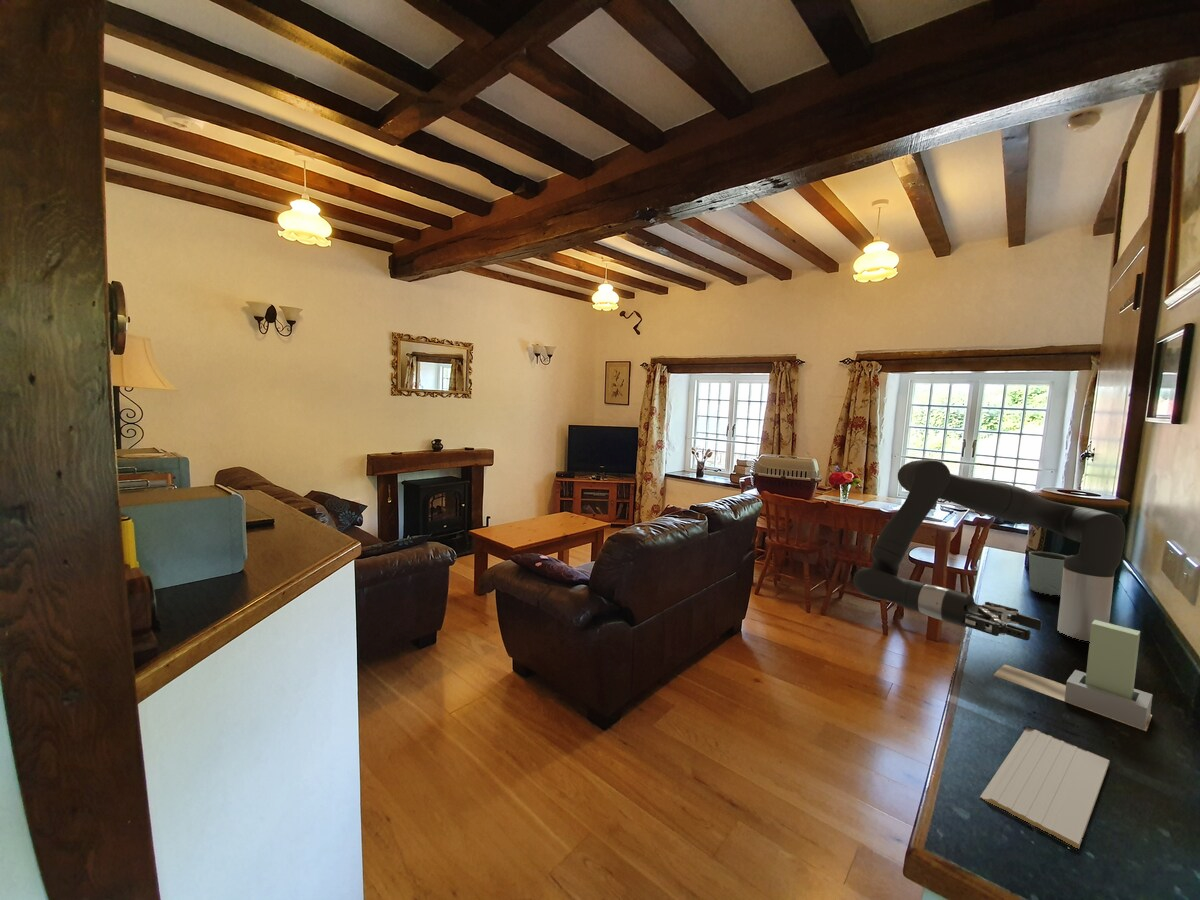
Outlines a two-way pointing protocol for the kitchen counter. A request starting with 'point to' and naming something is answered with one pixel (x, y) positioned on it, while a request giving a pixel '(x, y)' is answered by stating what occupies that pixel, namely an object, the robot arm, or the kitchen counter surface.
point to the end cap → (1109, 701)
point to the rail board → (1040, 685)
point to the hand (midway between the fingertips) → (1035, 630)
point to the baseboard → (1049, 784)
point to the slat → (1112, 658)
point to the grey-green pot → (1046, 572)
